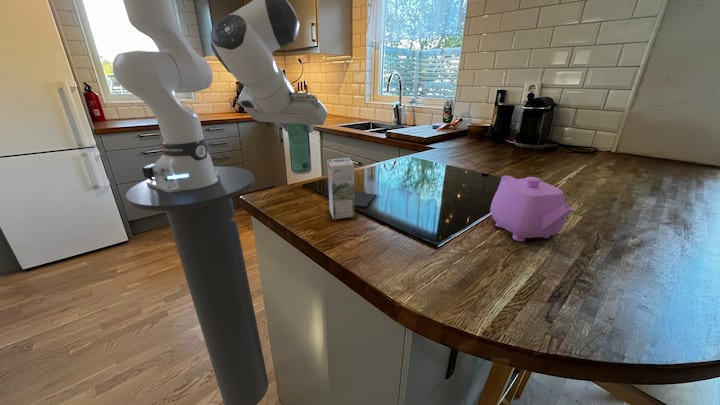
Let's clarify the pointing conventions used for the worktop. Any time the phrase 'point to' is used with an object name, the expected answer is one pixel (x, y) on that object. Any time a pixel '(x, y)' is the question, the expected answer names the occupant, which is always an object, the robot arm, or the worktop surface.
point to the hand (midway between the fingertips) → (299, 129)
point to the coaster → (363, 199)
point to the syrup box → (341, 188)
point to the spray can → (299, 148)
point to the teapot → (529, 208)
